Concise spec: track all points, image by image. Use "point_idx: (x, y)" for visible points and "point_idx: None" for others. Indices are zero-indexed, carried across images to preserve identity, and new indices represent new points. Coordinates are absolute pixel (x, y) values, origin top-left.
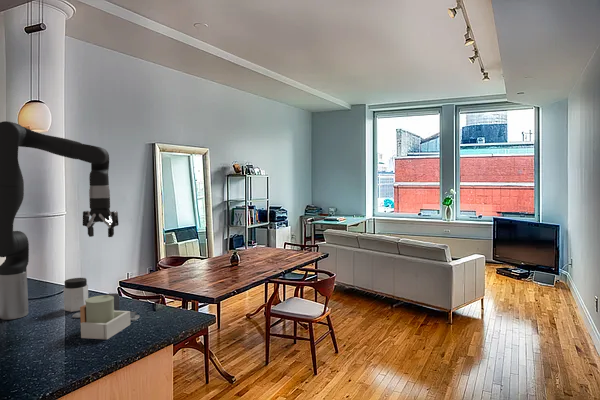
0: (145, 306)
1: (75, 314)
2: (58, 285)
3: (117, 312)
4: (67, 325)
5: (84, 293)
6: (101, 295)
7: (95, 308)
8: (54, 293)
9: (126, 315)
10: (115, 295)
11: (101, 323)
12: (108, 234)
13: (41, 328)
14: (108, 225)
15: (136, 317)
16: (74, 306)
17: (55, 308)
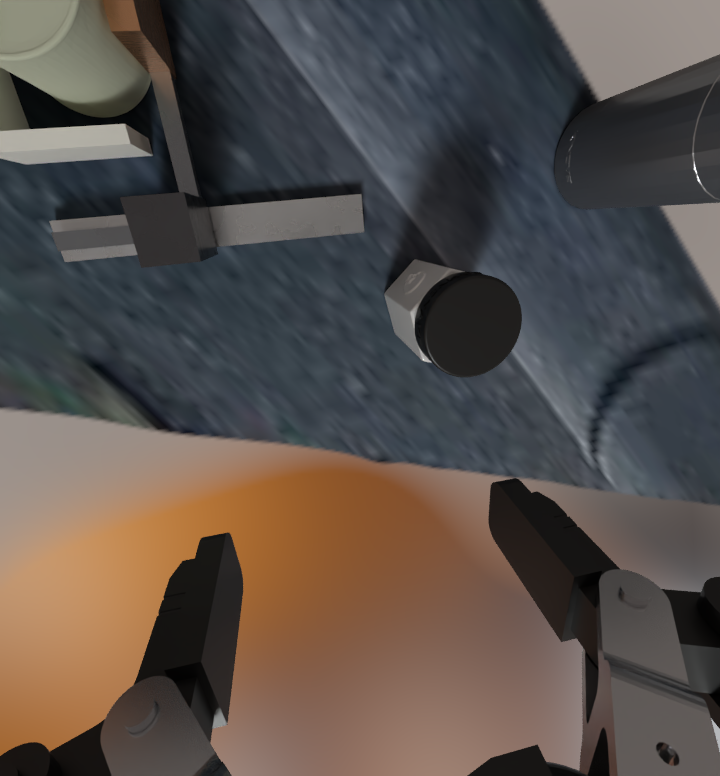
0: (175, 395)
1: (354, 204)
2: (643, 492)
3: (44, 130)
4: (303, 89)
5: (403, 315)
6: (49, 42)
7: None
8: (609, 423)
9: None
10: (130, 230)
11: None
12: (215, 558)
13: (385, 23)
14: (167, 732)
15: None
16: (411, 269)
17: None
